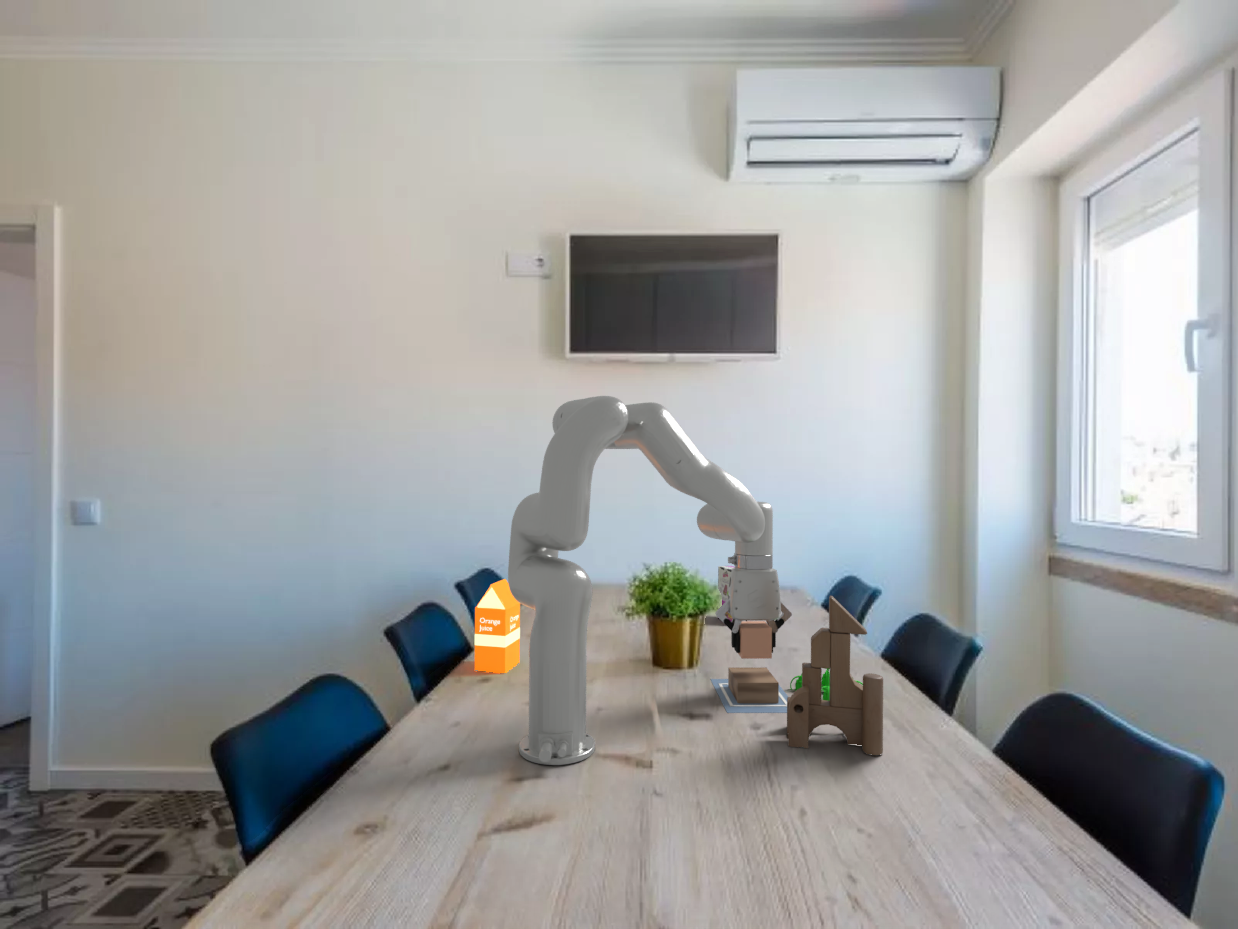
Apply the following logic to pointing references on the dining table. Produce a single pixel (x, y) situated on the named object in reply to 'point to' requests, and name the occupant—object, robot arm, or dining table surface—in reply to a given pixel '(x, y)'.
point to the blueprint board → (735, 707)
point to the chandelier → (825, 688)
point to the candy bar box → (725, 585)
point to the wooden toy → (837, 689)
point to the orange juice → (497, 630)
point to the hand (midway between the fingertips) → (753, 650)
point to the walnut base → (753, 685)
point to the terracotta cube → (755, 640)
